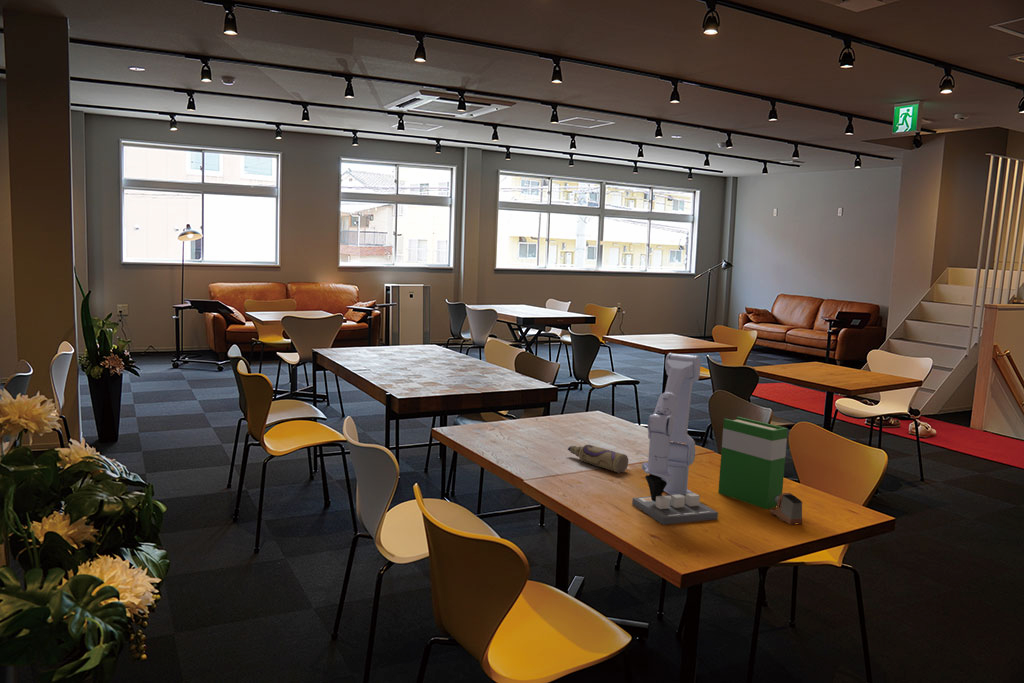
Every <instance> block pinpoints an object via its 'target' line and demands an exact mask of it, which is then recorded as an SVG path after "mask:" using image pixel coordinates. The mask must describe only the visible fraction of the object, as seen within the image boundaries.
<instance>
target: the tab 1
mask: <svg viewBox="0 0 1024 683" xmlns="http://www.w3.org/2000/svg"><path fill="white" fill-rule="evenodd" d="M669 504H670V498H669V497H667V496H656V507H657V508H659V509H669Z"/></svg>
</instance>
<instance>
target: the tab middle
mask: <svg viewBox="0 0 1024 683" xmlns="http://www.w3.org/2000/svg"><path fill="white" fill-rule="evenodd" d="M684 503H685V497H684V496H682V495H680V494H677V495H671V506H673V507H675V508H680V507H684Z"/></svg>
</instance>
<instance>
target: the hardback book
mask: <svg viewBox="0 0 1024 683" xmlns="http://www.w3.org/2000/svg"><path fill="white" fill-rule="evenodd" d="M722 426H723V428H722V441H721V453H720V455H721V456H720V465H719V466H720V467H719V477H718V478H719V481H718V490H717V492H718V494H720V495H724V496H726V497H729V498H732V499H734V498H735V500H737V501H740V500H741V502H743V503H747V504H749V505H752V506H755V507H758V508H761V509H763V510H766V509H767V510H770V509H774V508H776V506H777V503H776V502H775V500H774V497H775V496H777V495H779V496H780V494H781V493H783V490H784V488H783V487H784V478H785V463H786V456H787V454H786V453H787V442H788V430H789V429H788V427H784V426H781V425H780V426H779V425H775V424H771V423H770V424H769V423H766V422H763V421H758V420H754V419H749V418H747V417H746V418H745V417H741V416H736V419H728V418H723V425H722ZM773 507H774V508H773ZM769 508H770V509H769Z"/></svg>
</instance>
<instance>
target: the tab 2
mask: <svg viewBox="0 0 1024 683" xmlns="http://www.w3.org/2000/svg"><path fill="white" fill-rule="evenodd" d="M699 502H700V495H699V494H698V493H695V492H693V493H689V494H686V500H685V504H687V505H688V506H699Z"/></svg>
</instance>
